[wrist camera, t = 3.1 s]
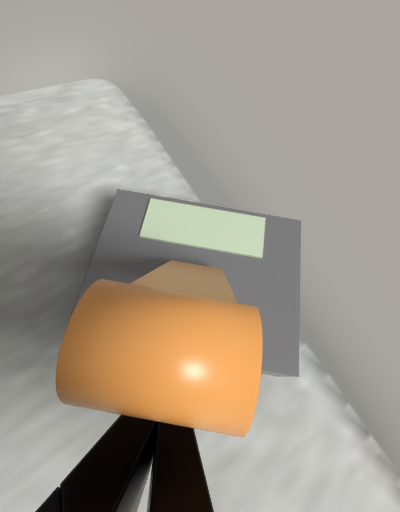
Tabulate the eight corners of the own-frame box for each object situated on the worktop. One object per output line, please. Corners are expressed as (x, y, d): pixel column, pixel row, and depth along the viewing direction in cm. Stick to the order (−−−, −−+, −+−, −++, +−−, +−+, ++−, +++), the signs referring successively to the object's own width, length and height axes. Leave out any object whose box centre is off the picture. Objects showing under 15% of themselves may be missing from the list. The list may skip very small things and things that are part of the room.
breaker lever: (217, 300, 16) (242, 473, 4) (165, 291, 16) (47, 436, 4) (224, 261, 16) (271, 327, 4) (172, 252, 16) (67, 291, 4)
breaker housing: (277, 376, 18) (300, 376, 14) (86, 341, 18) (63, 333, 15) (282, 244, 22) (301, 219, 18) (127, 217, 22) (116, 187, 19)
